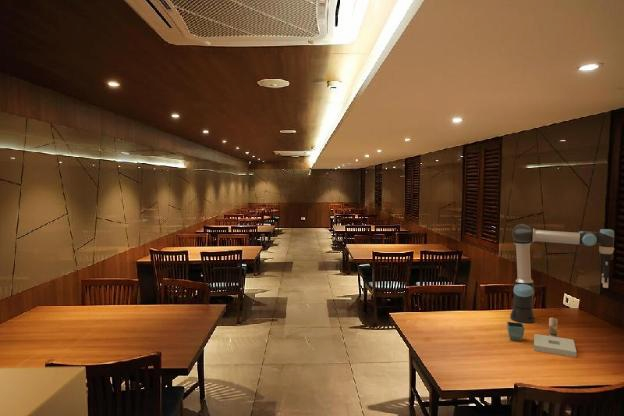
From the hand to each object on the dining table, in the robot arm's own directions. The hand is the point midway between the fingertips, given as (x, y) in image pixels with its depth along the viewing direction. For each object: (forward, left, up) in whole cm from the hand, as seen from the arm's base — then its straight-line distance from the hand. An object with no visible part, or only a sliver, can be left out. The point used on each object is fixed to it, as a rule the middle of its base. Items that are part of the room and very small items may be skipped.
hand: (604, 285), depth 269 cm
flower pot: (-50, -53, -27) cm, 78 cm away
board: (-30, -57, -27) cm, 70 cm away
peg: (-30, -41, -27) cm, 57 cm away
